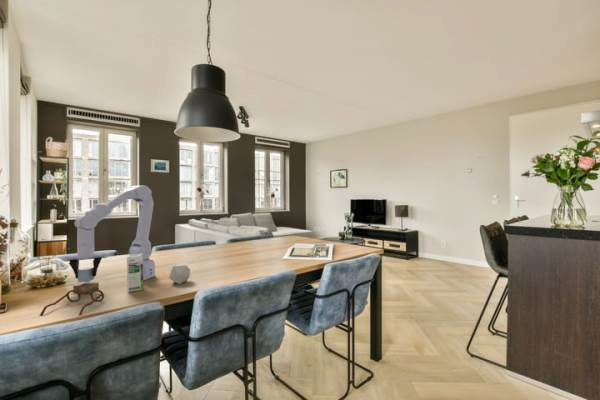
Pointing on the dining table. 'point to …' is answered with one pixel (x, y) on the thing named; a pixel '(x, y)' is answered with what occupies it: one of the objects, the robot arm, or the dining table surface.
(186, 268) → the die
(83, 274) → the slate cube
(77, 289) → the walnut slab
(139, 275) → the syrup box
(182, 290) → the dining table surface
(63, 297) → the glasses
